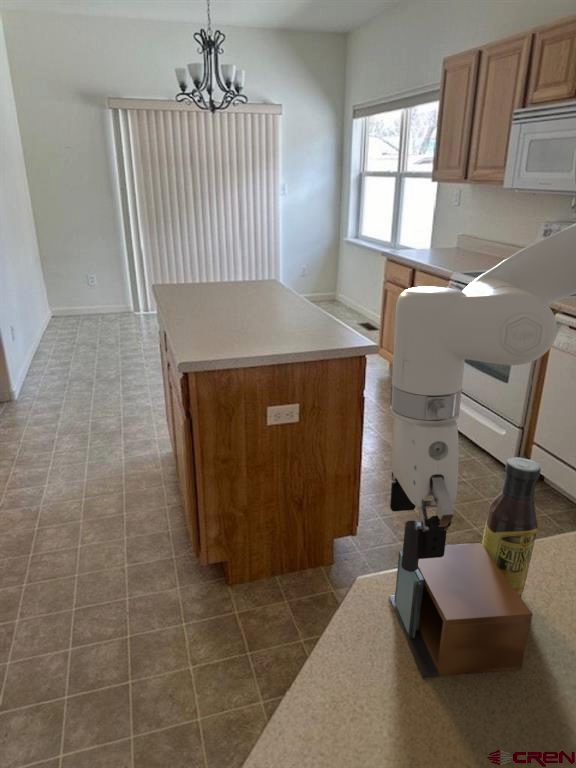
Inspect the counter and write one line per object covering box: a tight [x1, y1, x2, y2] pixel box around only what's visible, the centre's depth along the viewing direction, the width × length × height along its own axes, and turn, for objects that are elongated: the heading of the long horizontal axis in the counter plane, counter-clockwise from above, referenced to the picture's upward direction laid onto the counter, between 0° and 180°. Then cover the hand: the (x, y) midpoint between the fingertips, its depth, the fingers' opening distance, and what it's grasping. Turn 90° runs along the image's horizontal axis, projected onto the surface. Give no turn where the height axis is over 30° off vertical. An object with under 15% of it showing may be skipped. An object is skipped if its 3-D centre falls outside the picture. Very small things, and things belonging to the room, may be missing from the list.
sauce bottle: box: [481, 457, 541, 598], centre depth 71 cm, size 6×6×20 cm
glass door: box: [394, 520, 421, 639], centre depth 66 cm, size 2×6×14 cm, turn 6°
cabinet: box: [388, 542, 533, 679], centre depth 66 cm, size 12×13×8 cm
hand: (415, 531), depth 65 cm, fingers open, 9 cm apart
